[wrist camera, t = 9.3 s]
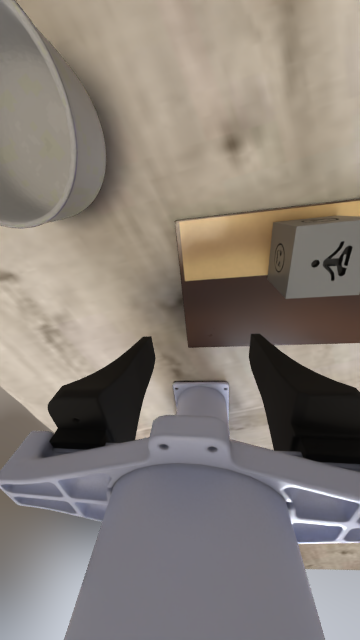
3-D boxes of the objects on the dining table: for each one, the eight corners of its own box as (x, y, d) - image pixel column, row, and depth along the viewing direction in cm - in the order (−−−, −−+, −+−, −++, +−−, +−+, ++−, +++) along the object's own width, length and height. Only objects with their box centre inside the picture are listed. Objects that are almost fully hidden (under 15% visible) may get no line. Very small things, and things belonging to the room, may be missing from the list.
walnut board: (382, 334, 23) (393, 342, 21) (189, 340, 26) (188, 347, 25) (445, 188, 16) (467, 186, 15) (176, 220, 19) (174, 220, 18)
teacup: (87, 32, 14) (-27, -140, 7) (139, 204, 19) (102, 201, 12) (-56, 110, 17) (-236, 41, 10) (21, 242, 22) (-64, 257, 15)
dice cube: (323, 274, 19) (359, 294, 15) (267, 278, 20) (285, 298, 15) (337, 215, 17) (384, 217, 12) (273, 222, 17) (296, 226, 13)
